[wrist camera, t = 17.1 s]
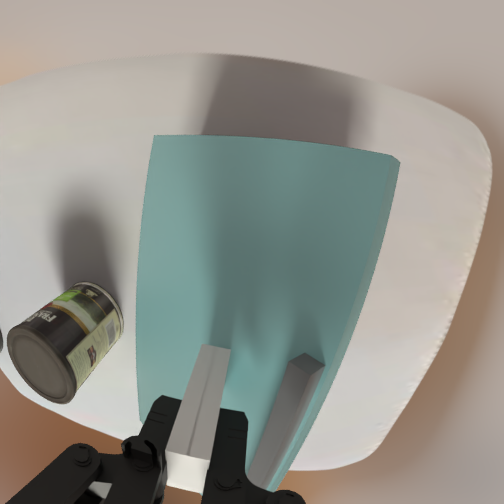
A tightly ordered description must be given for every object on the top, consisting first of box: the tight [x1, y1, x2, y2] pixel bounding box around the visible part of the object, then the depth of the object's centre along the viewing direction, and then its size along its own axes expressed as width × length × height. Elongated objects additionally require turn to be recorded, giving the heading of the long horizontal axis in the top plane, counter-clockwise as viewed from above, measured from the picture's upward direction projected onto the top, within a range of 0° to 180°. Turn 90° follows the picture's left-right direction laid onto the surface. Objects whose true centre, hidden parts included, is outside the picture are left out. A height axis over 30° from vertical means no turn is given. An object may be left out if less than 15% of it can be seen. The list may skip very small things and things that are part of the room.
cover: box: [136, 135, 400, 495], centre depth 17 cm, size 16×27×2 cm
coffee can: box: [7, 282, 123, 404], centre depth 30 cm, size 10×10×14 cm
